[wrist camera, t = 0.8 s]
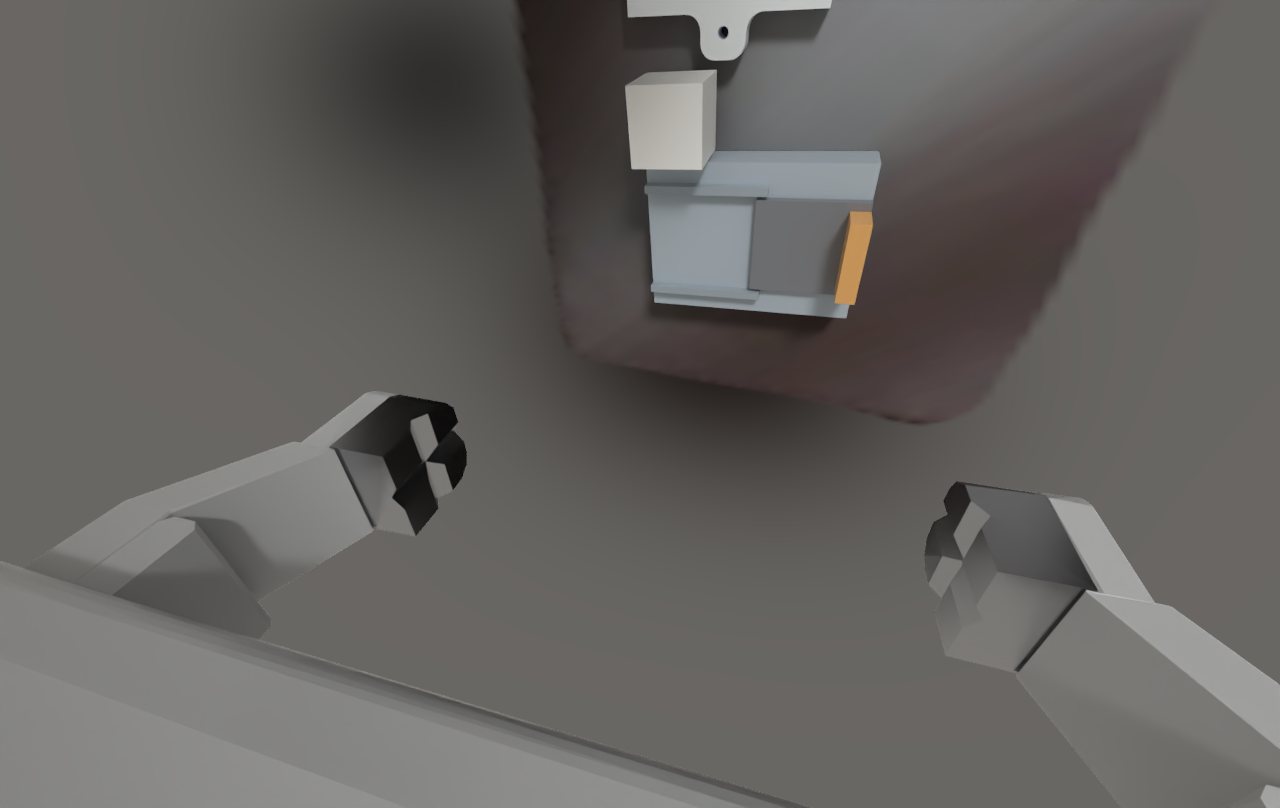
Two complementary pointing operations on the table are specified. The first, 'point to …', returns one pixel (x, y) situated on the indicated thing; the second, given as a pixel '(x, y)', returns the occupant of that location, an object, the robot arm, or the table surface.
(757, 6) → the mounting plate
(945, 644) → the robot arm
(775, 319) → the table surface
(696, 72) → the white block
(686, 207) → the socket
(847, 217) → the shutter
